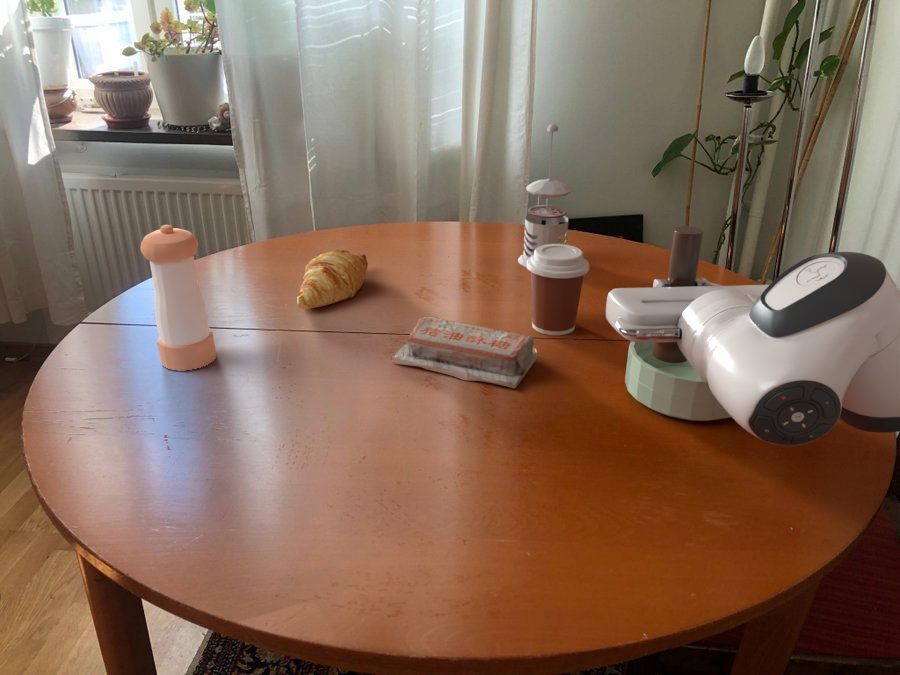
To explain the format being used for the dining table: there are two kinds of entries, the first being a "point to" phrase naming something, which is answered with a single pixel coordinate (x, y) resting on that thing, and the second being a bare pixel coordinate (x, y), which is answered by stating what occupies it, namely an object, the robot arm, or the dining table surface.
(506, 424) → the dining table surface
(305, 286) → the croissant
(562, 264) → the coffee cup
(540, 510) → the dining table surface
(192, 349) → the pepper shaker
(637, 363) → the bowl
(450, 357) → the packaged product
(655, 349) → the brown tall cylinder
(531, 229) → the french press
